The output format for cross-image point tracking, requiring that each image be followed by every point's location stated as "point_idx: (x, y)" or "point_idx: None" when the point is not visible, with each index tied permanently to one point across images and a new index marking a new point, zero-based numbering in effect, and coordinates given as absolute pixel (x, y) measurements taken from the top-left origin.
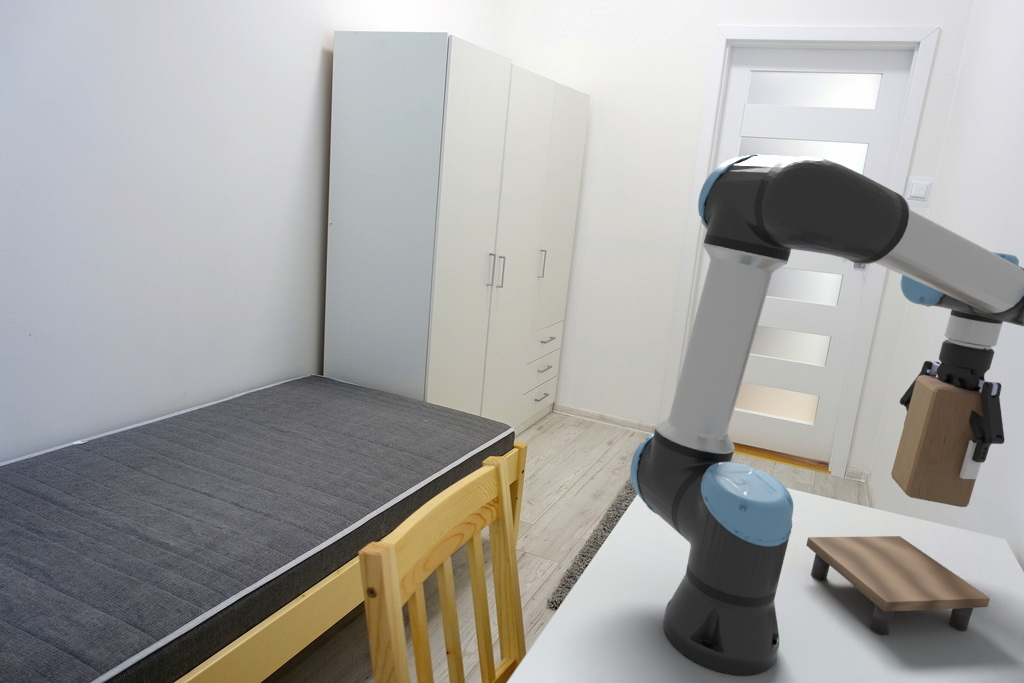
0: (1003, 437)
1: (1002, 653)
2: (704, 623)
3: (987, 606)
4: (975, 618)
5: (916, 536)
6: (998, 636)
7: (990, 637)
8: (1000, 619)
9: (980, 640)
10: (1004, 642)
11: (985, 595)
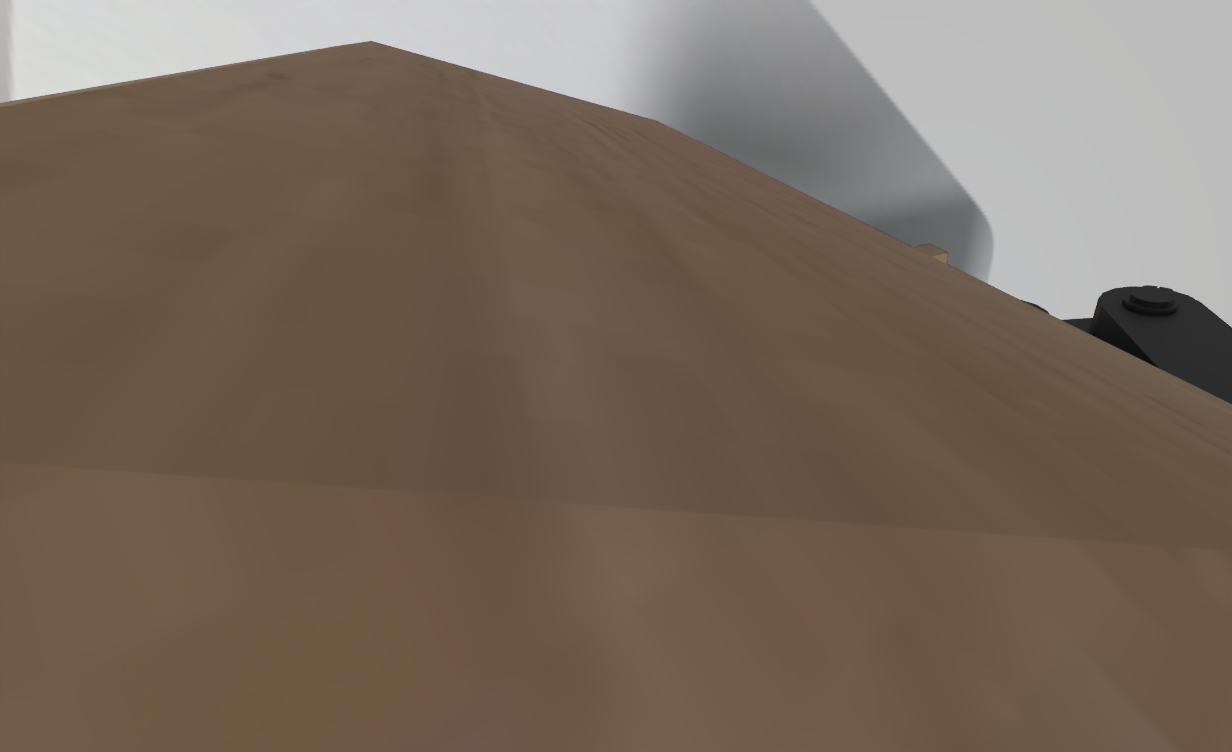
0: (1214, 326)
1: (945, 210)
2: None
3: (930, 245)
4: (824, 180)
5: (281, 23)
6: (895, 169)
7: (894, 197)
8: (836, 97)
9: (899, 233)
10: (916, 171)
11: (936, 258)
